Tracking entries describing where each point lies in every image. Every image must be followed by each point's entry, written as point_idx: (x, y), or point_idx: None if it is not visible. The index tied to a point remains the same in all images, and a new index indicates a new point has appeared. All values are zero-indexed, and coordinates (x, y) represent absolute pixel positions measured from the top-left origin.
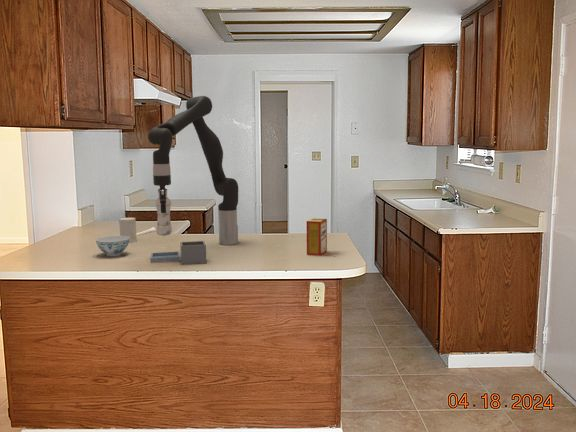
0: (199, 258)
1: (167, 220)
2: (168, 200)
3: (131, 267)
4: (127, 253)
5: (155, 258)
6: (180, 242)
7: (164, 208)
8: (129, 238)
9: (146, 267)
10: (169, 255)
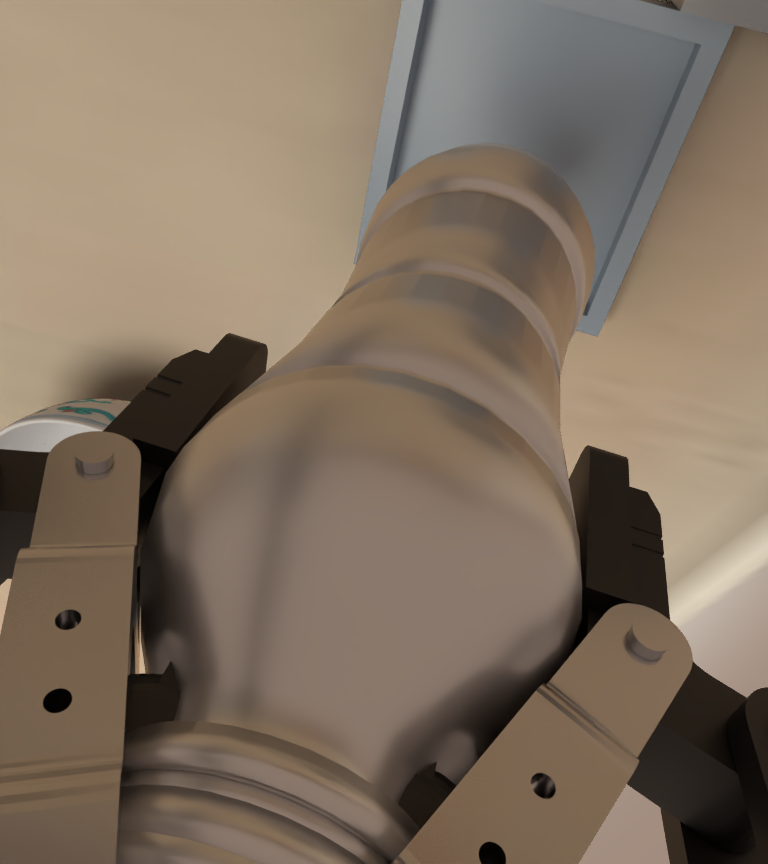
0: None
1: (562, 313)
2: (512, 583)
3: (666, 480)
4: (143, 364)
5: (614, 293)
6: (716, 16)
7: (658, 567)
8: (96, 424)
9: (757, 397)
10: (423, 76)
